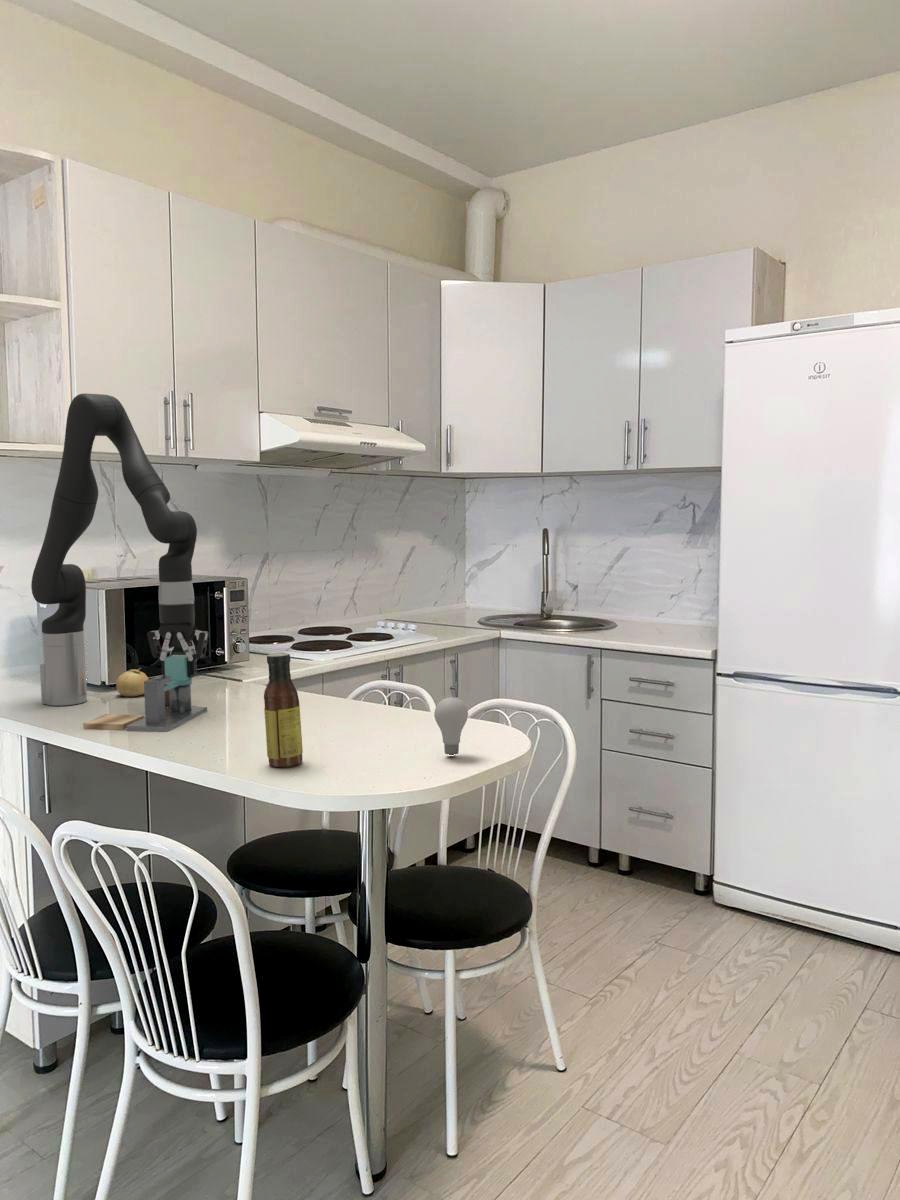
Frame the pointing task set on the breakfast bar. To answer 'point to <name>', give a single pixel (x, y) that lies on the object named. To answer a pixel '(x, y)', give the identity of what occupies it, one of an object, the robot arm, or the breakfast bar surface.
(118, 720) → the wooden coaster
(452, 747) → the lightbulb
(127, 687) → the onion
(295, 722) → the sauce bottle
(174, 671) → the teal block with handle
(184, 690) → the post
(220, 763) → the breakfast bar surface
